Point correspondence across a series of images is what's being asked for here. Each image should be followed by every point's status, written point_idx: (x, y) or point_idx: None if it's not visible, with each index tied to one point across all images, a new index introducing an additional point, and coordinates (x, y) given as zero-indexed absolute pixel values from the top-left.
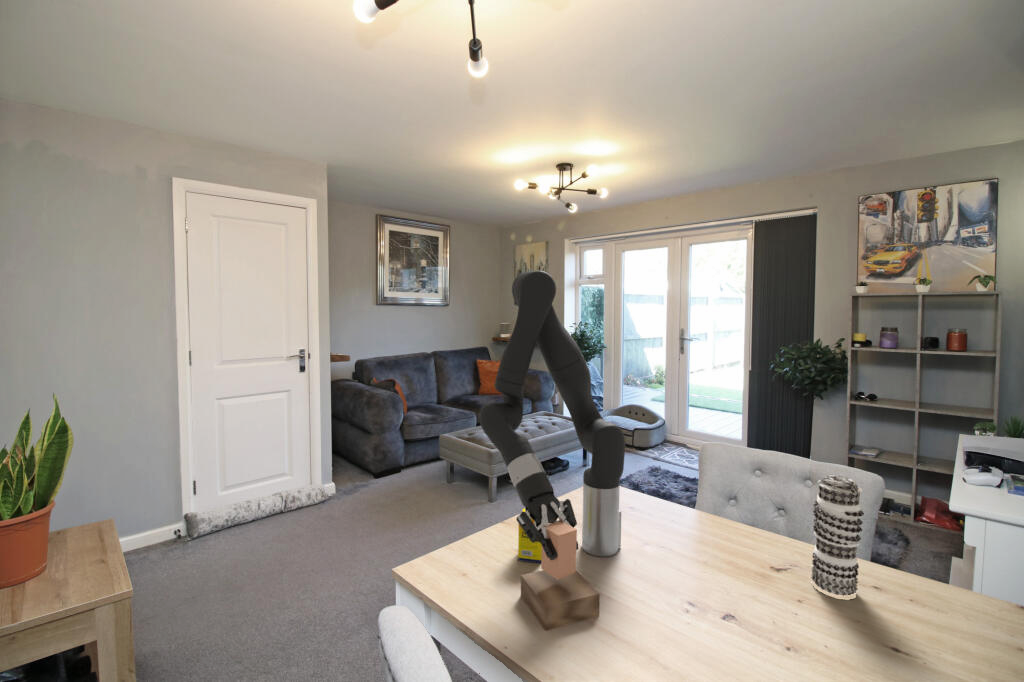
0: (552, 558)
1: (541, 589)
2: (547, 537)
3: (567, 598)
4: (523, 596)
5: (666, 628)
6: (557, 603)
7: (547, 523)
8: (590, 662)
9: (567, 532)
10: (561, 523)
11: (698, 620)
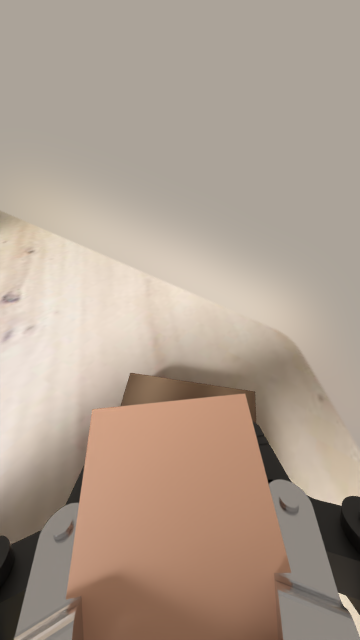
0: None
1: None
2: (278, 485)
3: (197, 393)
4: None
5: (88, 317)
6: (226, 388)
7: (293, 617)
8: (215, 318)
9: (171, 402)
10: (101, 596)
11: (42, 310)
